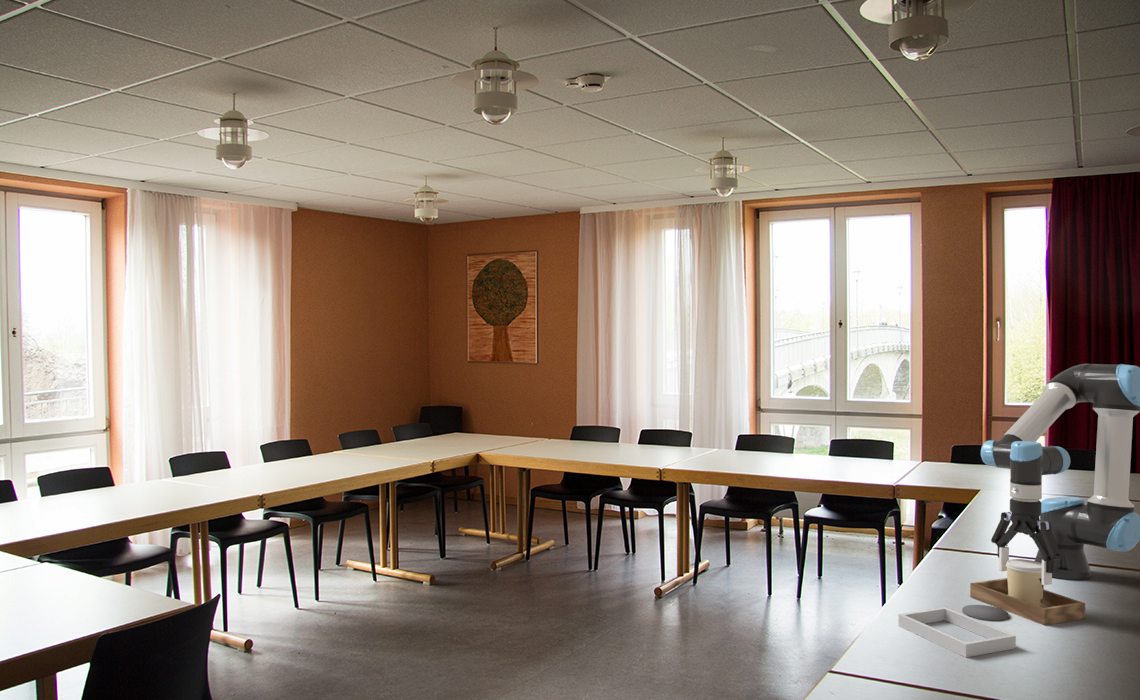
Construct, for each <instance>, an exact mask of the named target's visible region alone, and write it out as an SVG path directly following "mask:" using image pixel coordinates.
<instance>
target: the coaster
mask: <svg viewBox="0 0 1140 700" xmlns="http://www.w3.org/2000/svg"><path fill="white" fill-rule="evenodd" d="M962 614H963V615H965V614H966V616H968V617H970V618H973V619H975V620H979V621H980V620H981V621H989V622H1000V621H1001V622H1002V621H1006V620H1008V619H1009V617H1010V615H1009V612H1008V611H1005V610H1003V609H1000V608H997V607H995V606H992V605H985V604H969V605H965V606H963V607H962Z"/></svg>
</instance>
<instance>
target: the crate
mask: <svg viewBox="0 0 1140 700" xmlns="http://www.w3.org/2000/svg"><path fill="white" fill-rule="evenodd" d="M969 587H970V594H969V595H970V596H969V598H971V599H974V600H977V601H980V602H982V603H984V604H987V605H989V604H990V605H989V606H992V605H993V606H992V607H996V608H1000V609H1002V610H1005V611H1006V612H1008V613H1011V614H1013V615H1016V616H1018V617H1022V618H1024V619H1027V620H1030V621H1033V622H1034V623H1037V624H1039V625H1041V626H1049V625H1055V624H1060V623H1061V624H1062V623H1067V622H1072V621H1079V620H1084V619H1086V603H1085V602H1083V601H1079V600H1078V599H1077V600H1076V599H1073V598H1072V597H1071V598H1070V597H1068V596H1065V595H1061V594H1059V593H1056V592H1053V591H1050V590H1046V589H1044V590H1043V602H1042V607H1040V606H1037V605H1034V604H1031V603H1029V602H1026V601H1023V600H1020V599H1017V598H1014V597H1012V596H1009V594H1008V580H1007V577H1004V578H998V579H990V580H983V581H976V582H970V586H969ZM1005 593H1006V594H1005ZM1043 606H1045V607H1043Z"/></svg>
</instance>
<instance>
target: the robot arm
mask: <svg viewBox="0 0 1140 700" xmlns="http://www.w3.org/2000/svg"><path fill="white" fill-rule="evenodd" d="M1078 403H1092V410H1093V411H1094V412H1095V413H1096V414H1097V415H1098V417H1097V431H1096V447H1095V448H1096V451H1095V453H1096V454H1095V466H1094V467H1095V468H1094V484H1093V495H1092V496H1091V497H1089V498H1088V499H1087V502H1086V503H1087V504H1085V500H1084V499H1083V498H1080V497H1074V496H1071V497H1069V496H1067V497H1065V496H1060V497H1049V498H1045V499H1043V500H1042V498H1043V497H1042V496H1043V494H1042V493H1043V492H1042V491H1043V486H1042V483H1043V482H1042V481H1043V476H1046V475H1047V476H1048V475H1057V474H1062V473H1064V472H1065V471H1067V470H1068V469H1069V467H1070V466H1071V456H1070V455H1069V452H1068V451H1067V450H1066V449H1065V448H1063V447H1061V446H1055V445H1054V446H1053V445H1049V446H1044V445H1043V446H1042V444H1041V442H1037V441H1038V440H1039V439H1040V438H1041V437H1042V435H1044V433H1045V432H1046V431H1047V430H1048V429H1049V428H1050V427H1051V426H1052V425H1053V424H1054V423H1055V421H1056V420H1057V419H1058V418H1060V416H1061V415H1062V414H1063V413H1064V412H1065V411H1066V410H1068V409H1071V408H1073V407H1074V406H1075V405H1076V404H1078ZM1139 413H1140V366H1137V365H1131V364H1123V363H1120V364H1113V363H1111V364H1107V363H1106V364H1105V363H1081V364H1078V365H1073V366H1071V367H1069V368H1067V369H1065V370H1063V371H1061V372H1060V373H1058V374H1057V375H1055V376H1054V377H1053V378H1051V379H1050V381H1048V382H1047V383H1046V384H1045V386H1044V387H1043V388H1042V394H1041V395H1040V396H1039V397H1038V398H1037V399H1036V400H1035V401H1034V402H1033V404H1031V406H1030V407H1029V408H1028V409H1027V410H1026V411H1025V412H1024V413H1023V414H1022V415H1021V416H1019V418H1018V419H1017V421H1015V422H1014V423H1013V425H1012V426H1011V427H1010V428H1008V430H1007V431H1006V432H1005V433H1004V434H1003V435H1002V436H1001V437H1000V439H999V440H996V439H993V440H989V439H988V440H986V441H985V442H984V443H983V444H982V445H981V449H980V457H981V461H982V462H983V463H984V464H985V465H987V466H989V467H990V466H991V467H995V468H999V469H1008V470H1010V472H1009V473H1010V479H1009V481H1010V482H1009V483H1010V484H1009V488H1010V489H1009V496H1010V497H1011V498H1010V499H1009V511H1006V512H1004V511H1003V512H1001V513H1000V520H999V522H998V525H997V526H996V529H995V531H994V533H993V535H992V537H991V539H990V541H991V543H992V544H995V545H996V546H997V558H998V571H999V572H1007V567H1006V563H1007V561H1009V560H1010V546H1009V545H1008V544H1009V543H1010V542H1011V541H1012V540H1013V538H1015V537H1016V535H1017V534H1023V535H1026V536H1029V538H1031V539H1032V540H1033V542H1034V544H1035V545H1036V547H1037V549H1038V551H1037V553H1036V556H1035V559H1034V561H1036V562H1039V563H1042V585H1044V586H1047V585H1048V586H1049V585H1052V584H1053V582H1052V581H1053V578H1056V579H1063V580H1077V581H1078V580H1086V579H1089V578H1090V577H1091V567H1090V564H1089V561H1088V558H1087V555H1086V552H1085V545H1087V546H1092V547H1095V548H1096V547H1097V548H1103V549H1106V550H1108V551H1117V552H1123V553H1124V552H1130V551H1131V550H1133V549H1134V548H1135V547H1136V545H1137V544H1138V543H1139V541H1140V514H1138V512H1135V505H1134V504H1133V503H1132V502H1131V501H1130V500H1129V493H1130V491H1129V490H1130V478H1131V476H1130V475H1131V459H1132V440H1133V423H1134V422H1133V421H1134V419H1133V418H1134V417H1135V416H1136V415H1138V414H1139ZM1041 500H1042V501H1041ZM1010 523H1011V524H1010Z"/></svg>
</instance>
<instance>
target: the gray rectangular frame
mask: <svg viewBox="0 0 1140 700" xmlns="http://www.w3.org/2000/svg"><path fill="white" fill-rule="evenodd" d="M943 620H944V621H946V622H948V623H949V624H952V625H955V626H957V627H959V628H962V629H965V630H967V631H970V632H972V633H974V634H975V635H976V634H977V635H979V636H981V637H983V638H984V639H979V640H977V639H976V640H971V641H964V640H961V639H960V638H958V637H957V638H956V637H955V636H952V635H950V634H948V633H945V632H943V631H941V630H938V629H937V628H934V627H932V626H930V625H928V624H930V623H936V622H942V621H943ZM898 627H900V628H902V629H904V630H906V631H908V630H909V631H908V632H910V633H912V634H915V635H917V634H918V635H917V636H919V637H921V638H923V637H924V638H923V639H925V638H926V639H925V640H928V641H930V642H932V643H934V644H936V645H938V646H940V647H942V648H945V649H947V650H949V651H951V652H954V653H956V654H958V655H959V656H962V657H964V658H970V657H971V658H972V657H976V656H981V655H986V654H993V653H998V652H1003V651H1004V652H1005V651H1009V650H1016V644H1017V643H1016V641H1017V640H1016V637H1017V636H1016V635H1015V634H1012V633H1010V632H1007V631H1004V630H1002V629H1000V628H997V627H995V626H992V625H989V624H987V623H985V622H983V621H980V620H979V619H976V618H972V617H969V616H967V615H965V614H964V613H961V612H958V611H956V610H953V609H950V608H948V607H945V606H944V607H936V608H932V609H926V610H925V609H923V610H919V611H911V612H904V613H899V614H898Z"/></svg>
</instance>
